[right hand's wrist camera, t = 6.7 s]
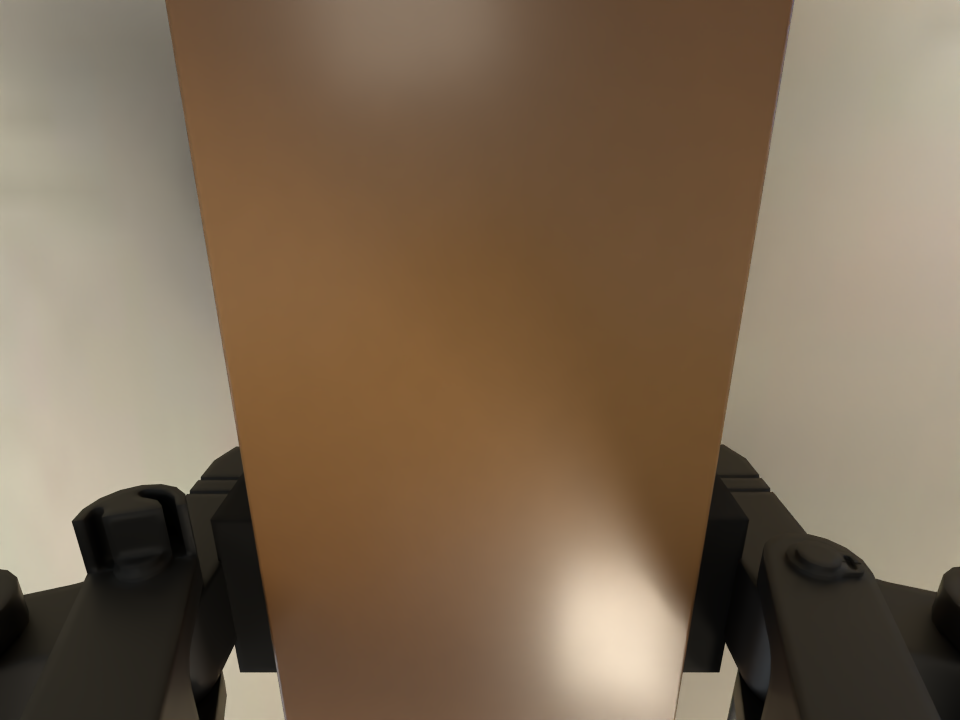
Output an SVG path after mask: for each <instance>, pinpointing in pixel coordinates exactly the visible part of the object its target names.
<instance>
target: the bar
mask: <svg viewBox="0 0 960 720" xmlns="http://www.w3.org/2000/svg"><path fill="white" fill-rule="evenodd" d="M165 2H166V8H167V14H168V20H169V26H170V32H171V38H172V44H173V50H174V56H175V62H176V68H177V74H178V80H179V86H180V92H181V98H182V104H183V110H184V116H185V122H186V128H187V134H188V140H189V146H190V153H191V159H192V165H193V171H194V177H195V183H196V189H197V195H198V201H199V207H200V213H201V219H202V225H203V231H204V237H205V243H206V249H207V255H208V261H209V267H210V273H211V279H212V285H213V291H214V297H215V303H216V309H217V315H218V321H219V327H220V333H221V339H222V345H223V351H224V357H225V363H226V369H227V375H228V381H229V387H230V393H231V399H232V405H233V411H234V417H235V423H236V429H237V435H238V441H239V447H240V453H241V459H242V465H243V471H244V477H245V483H246V489H247V495H248V501H249V507H250V513H251V519H252V525H253V531H254V537H255V543H256V549H257V555H258V561H259V567H260V573H261V579H262V585H263V591H264V597H265V603H266V609H267V615H268V621H269V627H270V633H271V639H272V645H273V651H274V657H275V663H276V669H277V675H278V681H279V687H280V693H281V699H282V705H283V711H284V717H285V720H675V715H676V709H677V703H678V697H679V691H680V685H681V679H682V673H683V667H684V661H685V655H686V649H687V643H688V637H689V631H690V625H691V619H692V613H693V607H694V601H695V595H696V589H697V583H698V577H699V571H700V565H701V559H702V552H703V546H704V540H705V534H706V528H707V522H708V516H709V510H710V504H711V498H712V492H713V486H714V480H715V474H716V468H717V462H718V456H719V450H720V444H721V438H722V432H723V426H724V420H725V414H726V408H727V402H728V396H729V390H730V384H731V378H732V372H733V366H734V360H735V354H736V348H737V342H738V336H739V330H740V324H741V318H742V312H743V306H744V300H745V294H746V288H747V282H748V275H749V269H750V263H751V257H752V251H753V245H754V239H755V233H756V227H757V221H758V215H759V209H760V203H761V197H762V191H763V185H764V179H765V173H766V167H767V161H768V155H769V149H770V143H771V137H772V131H773V125H774V119H775V113H776V107H777V101H778V95H779V89H780V83H781V77H782V71H783V65H784V59H785V53H786V47H787V41H788V35H789V29H790V23H791V17H792V11H793V4H794V0H165Z"/></svg>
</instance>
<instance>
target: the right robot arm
mask: <svg viewBox="0 0 960 720" xmlns="http://www.w3.org/2000/svg"><path fill="white" fill-rule="evenodd" d="M72 524H73V527H74V530H75V534H76V537H77V540H78V544H79V547H80V550H81V554H82V557H83V561H84V564H85V567H86V571H87V576H86V578H85V580H84V582H81V583H77V584H73V585H69V586H64V587H59V588H54V589H50V590H45V591H40V592H35V593H31V594H26V595H23V593H22V590H21V588H20V585H19V582H18V579H17V577H16V576H15V575H13V574H12V573H11V572H9V571H8V570H1V569H0V720H224V714H225V706H226V697H227V694H226V687H225V681H224V676H223V671H222V670H223V668H224V666H225V663H226V661H227V659H228V657H229V655H230V653H231V651H232V649H233V647H234V645H235V648H236V653H237V659H238V664H239V669H240V672H277V669H276V663H275V657H274V651H273V645H272V639H271V633H270V627H269V621H268V615H267V609H266V603H265V597H264V591H263V585H262V579H261V573H260V567H259V561H258V555H257V549H256V543H255V537H254V531H253V525H252V519H251V513H250V507H249V501H248V495H247V489H246V483H245V477H244V471H243V465H242V459H241V453H240V447H235V448H233V449H232V450H230V451H229V452H227V453H225V454H224V455H222V456H221V457H219V458H217V459H216V460H214V461H213V463H212V464H211V465H210V466H209V468H208V469H207V470H206V471H205V473H204V474H203V475H202V476H201V480H198V481H197V482H196V484H195V485H194V486H193V487H192V489H191V490H190V494H187V495H186V496H185V494H184V493H183V492H182V491H181V490H179V489H178V488H177V487H173V486H168V485H163V484H155V485H140V486H136V487H132V488H127V489H123V490H119V491H117V492H114V493H112V494H110V495H107V496H105V497H102V498H100V499H98V500H97V501H95V502H93V503H92V504H90V505H89V506H87V507H86V508H84V509H83V510H82V511H81V512H80V513H79V514H78V515H77V516H76V517H75V518H74V520H73V521H72ZM725 642H726V645H727V647H728V649H729V651H730V653H731V655H732V657H733V659H734V661H735V663H736V665H737V667H738V671H737V676H736V681H735V686H734V690H733V695H732V700H731V704H730V709H729V714H728V719H727V720H960V567H953V568H952V569H950V570H949V571H948V572H946V573H945V574H944V575H943V577H942V580H941V583H940V586H939V589H938V592H933V591H928V590H923V589H918V588H913V587H909V586H904V585H899V584H894V583H890V582H885V581H882V580H878V579H875V577H874V575H873V573H872V572H871V570H870V569H869V568H868V566H867V565H866V564H865V563H864V561H863V560H862V559H861V558H859V557H858V556H856V555H855V554H854V553H852V552H851V551H850V550H848V549H847V548H845V547H843V546H841V545H839V544H837V543H834V542H832V541H830V540H828V539H825V538H821V537H817V536H814V535H810V534H807V533H806V532H805V531H804V529H803V528H802V527H801V526H800V525H799V523H798V522H797V521H796V520H795V518H794V517H793V516H792V515H791V514H790V512H789V511H788V510H787V509H786V507H785V506H784V505H783V504H782V502H781V501H780V500H779V499H778V498H777V496H776V495H775V494H774V493H773V492H770V488H769V487H768V485H767V484H766V483H765V482H764V480H763V479H762V478H759V474H758V473H757V472H756V471H755V469H754V468H753V467H752V466H751V464H750V463H749V462H748V461H747V459H746V458H744V457H742V456H741V455H739V454H738V453H736V452H734V451H733V450H731V449H730V448H728V447H727V446H725V445H720V450H719V456H718V462H717V468H716V474H715V480H714V486H713V492H712V498H711V504H710V510H709V516H708V522H707V528H706V534H705V540H704V546H703V552H702V559H701V565H700V571H699V577H698V583H697V589H696V595H695V601H694V607H693V613H692V619H691V625H690V631H689V637H688V643H687V649H686V655H685V661H684V667H683V672H720V667H721V662H722V657H723V651H724V646H725Z"/></svg>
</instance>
